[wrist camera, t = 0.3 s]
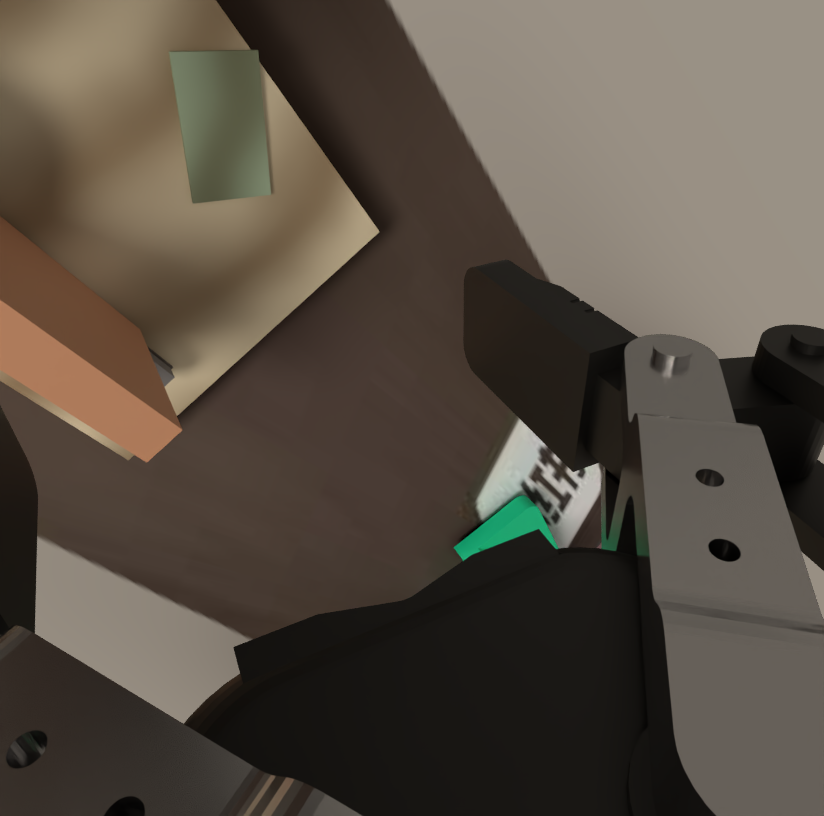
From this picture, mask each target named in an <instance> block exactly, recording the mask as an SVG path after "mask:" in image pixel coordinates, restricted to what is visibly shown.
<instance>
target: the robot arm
mask: <svg viewBox="0 0 824 816" xmlns="http://www.w3.org/2000/svg"><path fill="white" fill-rule="evenodd" d="M464 350H465V355H466V358H467V361H468V363H469V366H470V368H471V369H472V371H473V372H474V373H475V374H476V375H477V376H478V377H479V378H480V379H481V380H482V381H483V382H484V383H485V384H486V385H487V386H488V387H489V388H490V389H491V390H492V391H493V392H494V393H495V394H496V395H497V396H498V397H499V398H500V399H501V400H502V401H503V402H504V403H505V404H506V405H507V406H508V407H509V408H510V409H511V410H512V411H513V412H514V413H515V414H516V415H517V416H518V417H519V418H520V419H521V420H522V421H523V422H524V423H525V424H526V425H527V426H528V427H529V428H530V429H531V430H532V431H533V432H534V433H535V434H536V435H537V436H538V437H539V438H540V439H541V440H542V441H543V442H544V443H545V444H546V445H547V446H548V447H549V448H550V449H551V450H552V451H553V452H554V453H555V454H556V455H557V456H558V457H559V458H560V459H561V460H562V461H563V462H564V463H565V464H566V465H567V466H568V467H569V468H570V469H571V470H572V471H573V472H574V471H577V470H580V469H583V468H585V467H588V466H591V465H594V464H596V463H599V462H600V463H601V464H602V465H603V466H604V470H603V475H602V481H601V530H602V549H599V548H582V547H579V548H560V549H555V548H554V546H553V545H552V544H551V543H550V542H549V541H548V539H547V538H546V537H545V536H544V535H543V533H542V532H541V531H540V530H539V529H537V530H534V531H532V532H529V533H527V534H524V535H521V536H519V537H516V538H514V539H511V540H508V541H506V542H503V543H501V544H498V545H496V546H493V547H490V548H488V549H485V550H483V551H480V552H478V553H475V554H472V555H471V556H469V557H468V558H467V559H465V560H464V561H462V562H461V563H459V564H458V565H457V566H455V567H454V568H452V569H451V570H449V571H448V572H447V573H445V574H444V575H442V576H441V577H439V578H438V579H437V580H435V581H434V582H432V583H431V584H429V585H428V586H427V587H425V588H424V589H422V590H421V591H419V592H418V593H417V594H415V595H414V596H412V597H410V598H408V599H406V600H402V601H398V602H392V603H386V604H380V605H373V606H367V607H361V608H355V609H349V610H342V611H336V612H330V613H324V614H318V615H315V616H313V617H310V618H307V619H305V620H302V621H300V622H297V623H294V624H292V625H289V626H287V627H284V628H282V629H279V630H276V631H274V632H271V633H269V634H266V635H264V636H261V637H258V638H256V639H253V640H251V641H248V642H245V643H243V644H240V645H238V646H235V647H234V651H235V655H236V659H237V663H238V667H239V670H240V674H239V675H237V676H236V677H235V678H233V679H232V680H230V681H229V682H227V683H226V684H224V685H223V686H222V687H221V688H220V689H219V690H217V691H216V692H215V693H214V694H212V695H211V696H210V697H209V698H208V699H207V700H206V701H205V702H204V703H203V704H202V705H201V706H200V707H199V708H198V709H197V710H196V711H195V712H194V713H193V714H192V715H191V716H190V717H189V718H188V719H187V721H186V722H185V723H184V724H183V723H181V722H179V721H178V720H176V719H174V718H173V717H171V716H170V715H168V714H166V713H165V712H163V711H161V710H160V709H158V708H156V707H155V706H153V705H151V704H150V703H148V702H146V701H145V700H143V699H142V698H140V697H138V696H137V695H135V694H133V693H132V692H130V691H128V690H127V689H125V688H123V687H122V686H120V685H118V684H117V683H115V682H114V681H112V680H110V679H109V678H107V677H105V676H104V675H102V674H100V673H99V672H97V671H95V670H94V669H92V668H90V667H89V666H87V665H86V664H84V663H82V662H81V661H79V660H77V659H76V658H74V657H72V656H71V655H69V654H67V653H66V652H64V651H62V650H61V649H59V648H57V647H56V646H54V645H53V644H51V643H49V642H48V641H46V640H44V639H43V638H41V637H39V636H38V635H36V634H35V599H36V598H35V597H36V596H35V595H36V557H37V556H36V555H37V516H38V494H37V487H36V482H35V479H34V475H33V472H32V469H31V467H30V464H29V462H28V460H27V457H26V455H25V453H24V452H23V450H22V448H21V446H20V444H19V442H18V440H17V438H16V436H15V434H14V432H13V430H12V428H11V426H10V424H9V422H8V420H7V418H6V416H5V414H4V412H3V410H2V408H1V406H0V816H824V619H823V617H822V614H821V612H820V608H819V605H818V602H817V599H816V596H815V593H814V590H813V587H812V584H811V581H810V578H809V575H808V571H807V568H806V565H805V562H804V559H803V556H802V553H801V551H802V552H803V553H804V554H805V555H806V556H808V557H809V558H810V559H811V560H812V561H813V562H814V563H815V564H817V565H818V566H819V567H820V568H821V569H822V570H824V464H823V463H821V462H820V461H818V460H817V459H818V457H819V454H820V452H821V450H822V447H823V445H824V329H821V328H816V327H811V326H804V325H781V326H775V327H772V328H769V329H767V330H766V331H765V332H763V334H762V335H761V338H760V341H759V344H758V348H757V351H756V354H755V357H742V358H728V359H718V357H717V356H716V354H715V353H714V352H713V351H712V350H711V349H710V348H708V347H706V346H705V345H703V344H701V343H699V342H697V341H694V340H692V339H688V338H685V337H680V336H675V335H666V334H656V335H647V336H643V337H637V336H635V335H634V334H632V333H631V332H629V331H628V330H626V329H625V328H623V327H622V326H620V325H619V324H617V323H616V322H614V321H613V320H611V319H610V318H608V317H607V316H605V315H604V314H602V313H601V312H599V311H594V308H593V307H591V306H590V305H588V304H587V303H585V302H584V301H580V300H579V298H578V297H576V296H575V295H573V294H572V293H570V292H569V291H567V290H566V289H564V288H563V287H561V286H558V285H555V284H552V283H549V282H546V281H543V280H539V279H536V278H535V277H533V276H532V275H530V274H529V273H527V272H526V271H524V270H523V269H521V268H520V267H518V266H517V265H515V264H514V263H512V262H511V261H509V260H502V261H498V262H493V263H489V264H485V265H481V266H476V267H472V268H470V269H468V270H467V272H466V275H465V279H464Z"/></svg>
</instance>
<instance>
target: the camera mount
mask: <svg viewBox="0 0 824 816" xmlns="http://www.w3.org/2000/svg"><path fill="white" fill-rule="evenodd" d="M537 529H539V530H540V531H541V532H542V533H543V535H544V536H545V537H546V538H547V539H548V541H549V542H550V543H551V544H552V545H553V546H554V548H555V549H559V548H558V546H557V544H556V542H555V540H554V538H553V536H552V534H551V532H550V530H549V528H548V526H547V524H546V522H545V520H544V518H543V516H542V514H541V512H540V510H539V508H538V507H537V506H536V505H535V504H534V503H533V502H532V501H531V500H530V499H529V498H528V497H527V496H525V495H522V496H518V497H517V498H515V499H514V500H513V501H511V502H510V503H509V504H508V505H506V506H505V507H504V508H503V509H501V510H500V511H499V512H498V513H496V514H495V515H494V516H493V517H491V518H490V519H489V520H488V521H486V522H485V523H484V524H483V525H481V526H480V527H479V528H478V529H476V530H475V531H474V532H473V533H471V534H470V535H469V536H468V537H466V538H465V539H464V540H463V541H461V542H460V543H459V544H458V545H456V546H455V547H454V549H455V550H456V551H457V553H458V554H459V555H460V557H461V558H462V560H463V561H464V560H465V559H467V558H468V557H469V556H471V555H472V554H475V553H478V552H480V551H483V550H485V549H488V548H490V547H493V546H496V545H498V544H501V543H503V542H506V541H508V540H511V539H514V538H516V537H519V536H521V535H524V534H527V533H529V532H532V531H534V530H537Z"/></svg>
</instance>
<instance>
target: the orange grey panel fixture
mask: <svg viewBox="0 0 824 816" xmlns="http://www.w3.org/2000/svg"><path fill="white" fill-rule="evenodd" d="M0 370H1V371H3V372H4V373H6V374H7V375H9V376H11V377H12V378H14V379H15V380H17V381H19V382H20V383H22V384H23V385H25V386H26V387H28V388H30V389H31V390H33V391H34V392H36V393H38V394H39V395H41V396H42V397H44V398H45V399H47V400H49V401H50V402H52V403H53V404H55V405H57V406H58V407H60V408H61V409H63V410H64V411H66V412H68V413H69V414H71V415H72V416H74V417H75V418H77V419H79V420H80V421H82V422H83V423H85V424H87V425H88V426H90V427H91V428H93V429H94V430H96V431H98V432H99V433H101V434H102V435H104V436H106V437H107V438H109V439H110V440H112V441H113V442H115V443H117V444H118V445H120V446H121V447H123V448H124V449H126V450H128V451H129V452H131V453H132V454H134V455H136V456H137V457H139V458H140V459H142V460H143V461H145V462H148V461H149V460H150V459H151V458H152V457H153V456H154V455H156V454H157V453H158V452H159V451H160V450H161V449H162V448H163V447H164V446H165V445H167V444H168V443H169V442H170V441H171V440H172V439H173V438H174V437H175V436H176V435H178V434H179V433H180V432H181V431H182V427H181V425H180V423H179V420H178V418H177V416H176V413H175V411H174V409H173V406H172V404H171V401H170V399H169V397H168V394H167V392H166V390H165V386H166V385H167V384H168V383H169V382H170V381H171V380H173V379H174V378H175V377H174V375H173V373H172V370H171V368H170V367H169V366H167V365H166V364H165V363H163V362H162V361H161V360H160V359H158V358H157V357H156V356H155V355H153V354H152V353H151V352H150V351H149V349H148V347H147V345H146V342H145V340H144V337H143V335H142V333H141V330H140V329H139V328H138V327H136V326H135V325H134V324H133V323H132V322H130V321H129V320H128V319H127V318H125V317H124V316H123V315H122V314H120V313H119V312H118V311H117V310H116V309H114V308H113V307H112V306H111V305H109V304H108V303H107V302H106V301H104V300H103V299H102V298H101V297H99V296H98V295H97V294H96V293H95V292H93V291H92V290H91V289H90V288H88V287H87V286H86V285H85V284H83V283H82V282H81V281H80V280H79V279H77V278H76V277H75V276H74V275H72V274H71V273H70V272H69V271H67V270H66V269H65V268H64V267H62V266H61V265H60V264H59V263H58V262H56V261H55V260H54V259H53V258H51V257H50V256H49V255H48V254H46V253H45V252H44V251H43V250H42V249H40V248H39V247H38V246H37V245H35V244H34V243H33V242H32V241H30V240H29V239H28V238H27V237H25V236H24V235H23V234H22V233H21V232H19V231H18V230H17V229H16V228H14V227H13V226H12V225H11V224H9V223H8V222H7V221H6V220H5V219H3V218H2V217H1V216H0Z"/></svg>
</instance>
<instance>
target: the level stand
mask: <svg viewBox="0 0 824 816" xmlns="http://www.w3.org/2000/svg"><path fill="white" fill-rule="evenodd" d="M0 216H1V217H2V218H3V219H5V220H6V221H7V222H8V223H9V224H11V225H12V226H13V227H14V228H16V229H17V230H18V231H19V232H21V233H22V234H23V235H24V236H25V237H27V238H28V239H29V240H30V241H32V242H33V243H34V244H35V245H37V246H38V247H39V248H40V249H42V250H43V251H44V252H45V253H46V254H48V255H49V256H50V257H51V258H53V259H54V260H55V261H56V262H58V263H59V264H60V265H61V266H62V267H64V268H65V269H66V270H67V271H69V272H70V273H71V274H72V275H74V276H75V277H76V278H77V279H79V280H80V281H81V282H82V283H83V284H85V285H86V286H87V287H88V288H90V289H91V290H92V291H93V292H95V293H96V294H97V295H98V296H99V297H101V298H102V299H103V300H104V301H106V302H107V303H108V304H109V305H111V306H112V307H113V308H114V309H116V310H117V311H118V312H119V313H120V314H122V315H123V316H124V317H125V318H127V319H128V320H129V321H130V322H132V323H133V324H134V325H135V326H136V327H138V328H139V329H140V330H141V333H142V335H143V337H144V340H145V342H146V345H147V347H148V349H149V351H150V352H151V353H152V354H153V355H155V356H156V357H157V358H158V359H160V360H161V361H162V362H163V363H165V364H166V365H167V366H169V367H170V368H171V370H172V373H173V375H174V377H175V378H174V379H173V380H171V381H170V382H169V383H168V384H167V385H166V386H165V390H166V392H167V394H168V397H169V399H170V401H171V404H172V406H173V409H174V411H175V413H176V416H178V415H179V414H180V413H181V412H182V411H183V410H184V409H185V408H186V407H187V406H189V405H190V404H191V403H192V402H193V401H194V400H195V399H196V398H197V397H198V396H200V395H201V394H202V393H203V392H204V391H205V390H206V389H207V388H208V387H209V386H211V385H212V384H213V383H214V382H215V381H216V380H217V379H218V378H219V377H220V376H222V375H223V374H224V373H225V372H226V371H227V370H228V369H229V368H230V367H232V366H233V365H234V364H235V363H236V362H237V361H238V360H239V359H240V358H241V357H243V356H244V355H245V354H246V353H247V352H248V351H249V350H250V349H251V348H252V347H254V346H255V345H256V344H257V343H258V342H259V341H260V340H261V339H262V338H263V337H265V336H266V335H267V334H268V333H269V332H270V331H271V330H272V329H273V328H274V327H276V326H277V325H278V324H279V323H280V322H281V321H282V320H283V319H284V318H285V317H287V316H288V315H289V314H290V313H291V312H292V311H293V310H294V309H295V308H296V307H298V306H299V305H300V304H301V303H302V302H303V301H304V300H305V299H306V298H307V297H309V296H310V295H311V294H312V293H313V292H314V291H315V290H316V289H317V288H318V287H320V286H321V285H322V284H323V283H324V282H325V281H326V280H327V279H328V278H329V277H331V276H332V275H333V274H334V273H335V272H336V271H337V270H338V269H339V268H340V267H342V266H343V265H344V264H345V263H346V262H347V261H348V260H349V259H350V258H351V257H353V256H354V255H355V254H356V253H357V252H358V251H359V250H360V249H361V248H362V247H364V246H365V245H366V244H367V243H368V242H369V241H370V240H371V239H372V238H373V237H375V236H376V235H377V234H378V233H379V230H378V229H377V227H376V226H375V225H374V223H373V222H372V220H371V219H370V218H369V216H368V215H367V213H366V212H365V210H364V209H363V208H362V206H361V205H360V203H359V202H358V201H357V199H356V198H355V196H354V195H353V193H352V192H351V191H350V189H349V188H348V186H347V185H346V184H345V182H344V181H343V179H342V178H341V177H340V175H339V174H338V172H337V171H336V169H335V168H334V167H333V165H332V164H331V162H330V161H329V160H328V158H327V157H326V155H325V154H324V152H323V151H322V150H321V148H320V147H319V145H318V144H317V143H316V141H315V140H314V138H313V137H312V135H311V134H310V133H309V131H308V130H307V128H306V127H305V126H304V124H303V123H302V121H301V120H300V119H299V117H298V116H297V114H296V113H295V111H294V110H293V109H292V107H291V106H290V104H289V103H288V102H287V100H286V99H285V97H284V96H283V94H282V93H281V92H280V90H279V89H278V87H277V86H276V85H275V83H274V82H273V80H272V79H271V77H270V76H269V75H268V73H267V72H266V70H265V69H264V68H263V66H262V65H261V63H260V62H259V54H258V50H251V49H250V48H249V46H248V45H247V44H246V42H245V41H244V39H243V38H242V36H241V35H240V34H239V32H238V31H237V29H236V28H235V27H234V25H233V24H232V22H231V21H230V19H229V18H228V17H227V15H226V14H225V12H224V11H223V10H222V8H221V7H220V5H219V4H218V3H217V1H216V0H0ZM0 381H1V382H3V383H5V384H6V385H8V386H10V387H11V388H13V389H14V390H16V391H18V392H19V393H21V394H22V395H24V396H26V397H27V398H29V399H30V400H32V401H34V402H35V403H37V404H39V405H40V406H42V407H43V408H45V409H47V410H48V411H50V412H51V413H53V414H55V415H56V416H58V417H60V418H61V419H63V420H64V421H66V422H68V423H69V424H71V425H72V426H74V427H76V428H77V429H79V430H80V431H82V432H84V433H85V434H87V435H89V436H90V437H92V438H93V439H95V440H97V441H98V442H100V443H101V444H103V445H105V446H106V447H108V448H110V449H111V450H113V451H114V452H116V453H118V454H119V455H121V456H122V457H124V458H126V459H127V460H129V459H130V458H131V457H132V456H134V454H132V453H131V452H129V451H128V450H126V449H124V448H123V447H121V446H120V445H118V444H117V443H115V442H113V441H112V440H110V439H109V438H107V437H106V436H104V435H102V434H101V433H99V432H98V431H96V430H94V429H93V428H91V427H90V426H88V425H87V424H85V423H83V422H82V421H80V420H79V419H77V418H75V417H74V416H72V415H71V414H69V413H68V412H66V411H64V410H63V409H61V408H60V407H58V406H57V405H55V404H53V403H52V402H50V401H49V400H47V399H45V398H44V397H42V396H41V395H39V394H38V393H36V392H34V391H33V390H31V389H30V388H28V387H26V386H25V385H23V384H22V383H20V382H19V381H17V380H15V379H14V378H12V377H11V376H9V375H7V374H6V373H4V372H3V371H1V370H0Z"/></svg>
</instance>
